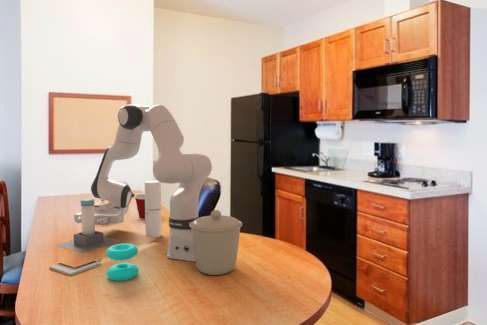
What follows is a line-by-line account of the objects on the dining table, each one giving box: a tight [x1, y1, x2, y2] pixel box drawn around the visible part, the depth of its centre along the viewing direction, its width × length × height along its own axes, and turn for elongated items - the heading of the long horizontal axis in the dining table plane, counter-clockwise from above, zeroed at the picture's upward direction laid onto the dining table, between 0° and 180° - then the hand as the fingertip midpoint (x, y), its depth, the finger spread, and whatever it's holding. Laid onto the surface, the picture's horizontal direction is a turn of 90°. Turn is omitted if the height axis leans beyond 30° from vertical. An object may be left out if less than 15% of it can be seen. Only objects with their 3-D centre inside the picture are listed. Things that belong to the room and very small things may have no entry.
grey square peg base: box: [56, 230, 121, 254], centre depth 153 cm, size 18×18×6 cm
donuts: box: [105, 243, 139, 282], centre depth 122 cm, size 10×10×10 cm
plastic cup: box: [134, 193, 145, 219], centre depth 206 cm, size 11×11×12 cm
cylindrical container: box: [144, 180, 162, 238], centre depth 169 cm, size 7×7×25 cm
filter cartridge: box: [80, 198, 96, 236], centre depth 153 cm, size 5×5×18 cm
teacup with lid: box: [94, 199, 109, 211], centre depth 196 cm, size 12×9×12 cm
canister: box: [190, 209, 243, 276], centre depth 128 cm, size 18×18×21 cm
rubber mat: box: [48, 260, 102, 276], centre depth 131 cm, size 12×12×1 cm
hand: (88, 221), depth 153 cm, fingers open, 8 cm apart
